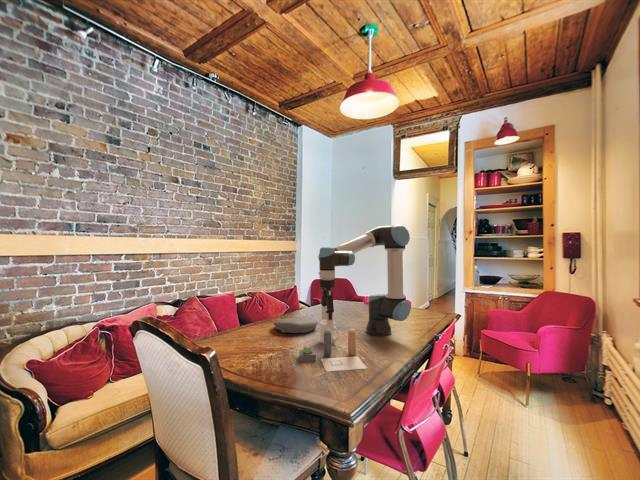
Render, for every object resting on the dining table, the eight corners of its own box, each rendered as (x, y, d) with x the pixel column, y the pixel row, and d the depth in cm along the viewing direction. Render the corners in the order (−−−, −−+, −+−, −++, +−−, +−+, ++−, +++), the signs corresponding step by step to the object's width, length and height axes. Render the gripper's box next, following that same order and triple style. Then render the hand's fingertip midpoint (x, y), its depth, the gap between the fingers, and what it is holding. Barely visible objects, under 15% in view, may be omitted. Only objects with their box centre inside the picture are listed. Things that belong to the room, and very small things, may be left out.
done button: (310, 353, 145) (310, 345, 145) (312, 356, 141) (312, 348, 141) (303, 354, 144) (303, 345, 144) (303, 357, 140) (303, 348, 140)
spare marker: (354, 353, 149) (354, 328, 149) (356, 356, 146) (356, 330, 146) (347, 353, 149) (347, 328, 149) (349, 356, 145) (349, 330, 145)
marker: (330, 354, 148) (330, 328, 148) (331, 356, 145) (331, 331, 145) (323, 354, 148) (323, 329, 148) (324, 357, 144) (324, 331, 144)
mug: (333, 347, 159) (333, 326, 159) (316, 342, 167) (316, 322, 167) (343, 342, 165) (343, 323, 165) (326, 338, 173) (326, 319, 173)
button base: (313, 355, 147) (313, 349, 147) (315, 361, 140) (315, 354, 140) (299, 356, 145) (299, 350, 146) (300, 362, 139) (300, 355, 139)
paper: (357, 356, 145) (357, 356, 145) (367, 368, 131) (367, 368, 131) (320, 359, 142) (320, 358, 142) (326, 372, 128) (326, 371, 128)
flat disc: (326, 327, 196) (326, 320, 196) (300, 338, 172) (300, 331, 172) (292, 322, 211) (292, 315, 211) (264, 332, 187) (264, 324, 187)
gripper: (315, 276, 158) (315, 316, 158) (324, 282, 134) (324, 330, 133) (329, 276, 160) (329, 316, 159) (340, 282, 135) (340, 329, 135)
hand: (327, 322), depth 146 cm, fingers open, 13 cm apart
